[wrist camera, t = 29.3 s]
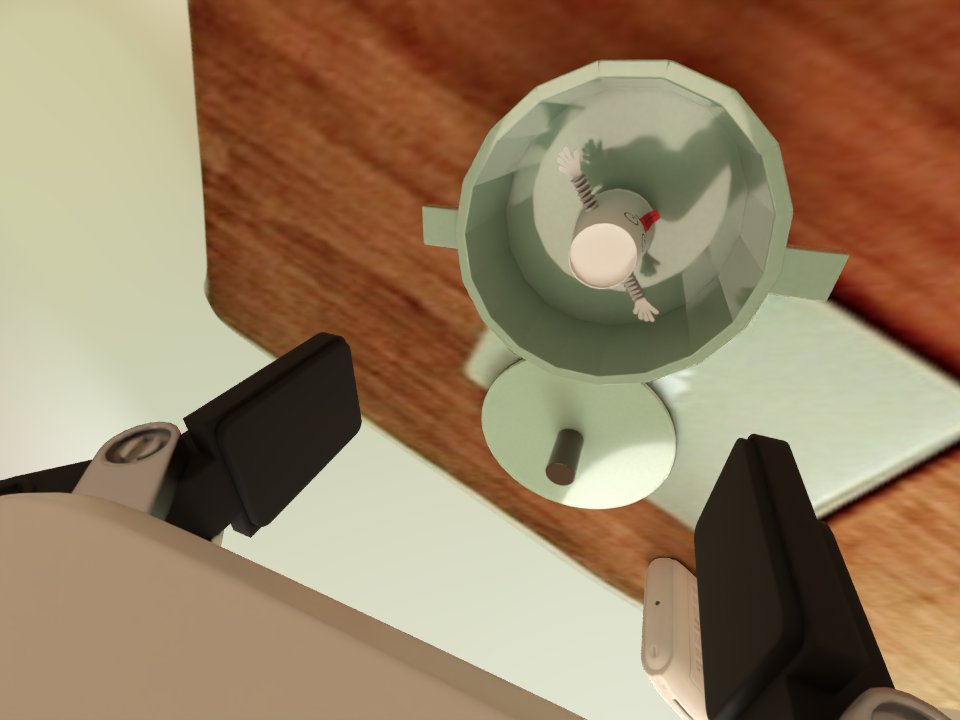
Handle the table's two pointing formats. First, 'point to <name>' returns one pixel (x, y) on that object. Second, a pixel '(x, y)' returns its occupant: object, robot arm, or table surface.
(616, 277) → the toy figure
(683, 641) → the photo printer
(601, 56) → the table surface
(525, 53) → the table surface
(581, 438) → the lid
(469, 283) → the pot
